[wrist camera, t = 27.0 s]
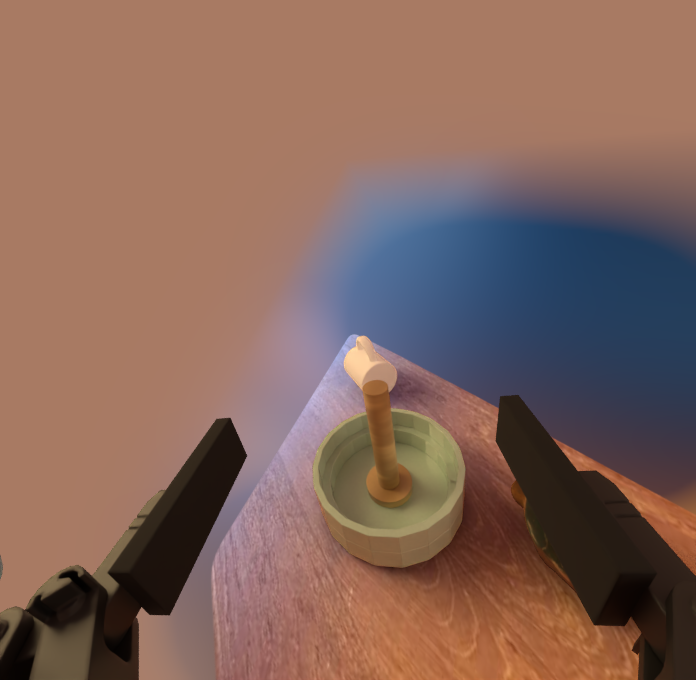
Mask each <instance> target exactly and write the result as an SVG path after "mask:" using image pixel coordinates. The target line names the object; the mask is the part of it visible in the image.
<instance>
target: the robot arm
mask: <svg viewBox="0 0 696 680" xmlns="http://www.w3.org/2000/svg"><path fill="white" fill-rule="evenodd" d="M496 443H497V444H498V446H499V448H500V450H501V452H502V454H503V456H504V458H505V459H506V461H507V463H508V465H509V467H510V469H511V471H512V473H513V474H514V476H515V478H516V480H517V482H518V484H519V486H520V488H521V489H522V491H523V493H524V495H525V497H526V499H527V501H528V503H529V504H530V506H531V508H532V510H533V512H534V514H535V516H536V518H537V519H538V521H539V523H540V525H541V527H542V529H543V531H544V533H545V534H546V536H547V538H548V540H549V542H550V544H551V546H552V548H553V549H554V551H555V553H556V555H557V557H558V559H559V561H560V562H561V564H562V566H563V568H564V570H565V572H566V574H567V576H568V577H569V579H570V581H571V583H572V585H573V587H574V589H575V591H576V592H577V594H578V596H579V598H580V600H581V602H582V604H583V606H584V607H585V609H586V611H587V613H588V615H589V617H590V619H591V621H592V622H593V624H594V625H603V626H625V625H626V623H627V622H628V620H629V618H630V617H632V618H633V620H634V621H635V623H636V625H637V626H638V628H639V629H640V631H641V632H642V633H641V635H640V636H639V638H638V639H637V641H636V642H635V644H634V646H633V649H632V651H633V652H634V653H636V654H637V655H638V653H639V670H638V680H696V576H695V575H694V574H693V573H692V572H691V571H690V569H689V568H688V567H687V566H686V565H685V564H684V563H683V561H682V560H681V559H680V558H679V557H678V556H677V555H676V553H675V552H674V551H673V550H672V549H671V548H670V547H669V546H668V544H667V543H666V542H665V541H664V540H663V539H662V538H661V536H660V535H659V534H658V533H657V532H656V531H655V530H654V528H653V527H652V526H651V525H650V524H649V523H648V522H647V520H646V519H645V518H644V517H642V516H641V514H640V512H639V511H638V510H637V509H636V508H635V507H634V506H633V504H632V503H629V500H628V499H627V498H626V496H625V495H624V494H623V493H622V492H621V491H620V490H619V489H618V487H617V486H616V485H615V484H614V483H612V482H611V481H610V480H608V479H607V478H606V477H604V476H603V475H601V474H600V473H599V472H597V471H577V470H576V468H575V467H574V466H573V464H572V463H571V462H570V461H569V459H568V458H567V457H566V455H565V454H564V453H563V452H562V450H561V449H560V448H559V447H558V445H557V444H556V443H555V441H554V440H553V439H552V438H551V436H550V435H549V434H548V432H547V431H546V430H545V429H544V427H543V426H542V425H541V423H540V422H539V421H538V420H537V418H536V417H535V416H534V415H533V413H532V412H531V411H530V410H529V408H528V407H527V406H526V404H525V403H524V402H523V400H522V399H521V398H520V397H519V395H512V396H501V397H500V403H499V413H498V423H497V433H496ZM246 457H247V454H246V452H245V450H244V448H243V445H242V443H241V441H240V438H239V436H238V434H237V432H236V429H235V427H234V425H233V423H232V420H231V418H222V419H216V421H215V422H214V423H213V425H212V426H211V428H210V429H209V430H208V432H207V433H206V435H205V436H204V437H203V439H202V440H201V442H200V443H199V444H198V446H197V447H196V449H195V450H194V452H193V453H192V454H191V456H190V457H189V459H188V460H187V461H186V463H185V464H184V466H183V467H182V468H181V470H180V471H179V472H178V474H177V476H176V477H175V478H174V480H173V481H172V482H171V484H170V485H169V487H168V488H167V489H166V490H161V491H159V492H158V493H157V494H156V495H155V496H154V497H152V498H151V499H150V500H149V501H148V502H147V503H146V505H145V506H144V507H143V509H142V510H141V511H140V513H139V514H138V515H137V518H136V519H134V521H133V522H132V523H131V525H130V526H129V529H128V530H126V532H125V533H124V534H123V536H122V537H121V538H120V540H119V541H118V542H117V544H116V545H115V546H114V548H113V549H112V550H111V552H110V553H109V554H108V556H107V557H106V559H105V560H104V561H103V562H102V564H101V565H100V566H99V568H98V569H97V570H96V572H95V573H94V574H93V575H92V576H91V575H90V574H89V573H88V572H87V571H86V570H85V569H84V568H83V567H81V566H79V565H75V566H70V567H68V568H66V569H63V570H62V571H60V572H58V573H57V574H55V575H54V576H53V577H51V578H50V579H49V580H48V581H47V582H45V583H44V584H43V585H42V586H41V587H40V588H39V589H38V590H37V592H36V593H35V594H34V596H33V597H32V598H31V599H30V601H29V603H28V605H27V607H26V609H25V610H24V609H22V608H20V607H12V608H9V609H6V610H4V611H3V612H1V613H0V680H139V671H138V669H139V658H138V657H139V624H138V620H137V618H136V616H137V614H138V612H139V610H140V609H141V607H142V608H143V609H144V610H145V611H146V612H147V613H148V614H149V615H170V613H171V612H172V610H173V608H174V606H175V603H176V601H177V599H178V597H179V595H180V593H181V591H182V589H183V587H184V585H185V583H186V581H187V579H188V577H189V574H190V573H191V570H192V568H193V566H194V564H195V562H196V560H197V558H198V556H199V554H200V552H201V550H202V548H203V546H204V544H205V542H206V539H207V537H208V535H209V533H210V531H211V529H212V527H213V525H214V523H215V521H216V519H217V517H218V515H219V513H220V511H221V509H222V507H223V505H224V502H225V500H226V498H227V496H228V494H229V492H230V490H231V488H232V486H233V484H234V482H235V480H236V478H237V476H238V474H239V471H240V469H241V468H242V466H243V463H244V461H245V459H246ZM2 570H3V565H2V560H1V556H0V579H1V575H2Z"/></svg>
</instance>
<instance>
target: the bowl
mask: <svg viewBox="0 0 696 680" xmlns="http://www.w3.org/2000/svg"><path fill="white" fill-rule="evenodd" d="M391 414H392V422H393V430H394V438H395V446H396V454H397V463H399V464H401V465H403V466H404V467H405V468H406V469H407V470H408V471H409V473H410V475H411V477H412V485H413V490H412V494H411V496H410V498H409V499H408V501H407V502H406V503H404V504H403V505H401V506H398V507H395V508H386V507H382V506H380V505H378V504H376V503H375V502H374V501H373V500H372V499H371V497H370V496H369V493H368V490H367V485H366V479H367V475H368V473H369V471H370V470H371V469H372V468H373V467H374V466H375V460H374V454H373V448H372V443H371V437H370V431H369V425H368V419H367V414H366V412H363V413H359V414H357V415H355V416H353V417H351V418H349V419H347V420H345V421H343V422H341V423H340V424H339V425H338V426H337V427H336V428H334V429H333V430H332V431H331V432H330V433H329V434H328V435H327V436H326V438H325V439H324V441H323V442H322V444H321V445H320V446H319V448H318V450H317V453H316V457H315V460H314V463H313V484H314V490H315V493H316V496H317V499H318V502H319V505H320V508H321V511H322V514H323V517H324V519H325V521H326V523H327V526H328V528H329V530H330V532H331V534H332V536H333V537H334V538H335V539H336V540H337V541H338V542H339V543H340V544H341V545H342V546H343V547H344V548H345V549H346V550H347V551H348V552H349V553H350V554H351V555H353V556H356V557H358V558H360V559H362V560H364V561H366V562H368V563H370V564H373V565H375V566H388V567H400V568H402V567H407V566H410V565H413V564H417V563H420V562H423V561H427V560H429V559H431V558H432V557H433V556H435V555H436V554H437V553H438V552H440V551H441V550H442V549H443V548H445V547H446V546H447V545H448V544H450V542H451V541H452V539H453V537H454V535H455V533H456V531H457V530H458V528H459V526H460V524H461V522H462V519H463V510H464V501H465V474H466V468H465V464H464V461H463V457H462V453H461V450H460V447H459V446H458V444H457V443H456V442H455V440H454V439H453V437H452V436H451V435H450V433H449V432H448V431H447V430H446V429H444V428H443V427H442V426H441V425H439V424H438V423H437V422H435V421H434V420H433V419H431V418H428V417H426V416H424V415H421V414H419V413H417V412H413V411H408V410H402V409H397V408H393V409H391Z"/></svg>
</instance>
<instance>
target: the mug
mask: <svg viewBox="0 0 696 680" xmlns="http://www.w3.org/2000/svg"><path fill="white" fill-rule="evenodd" d="M356 345H357V346H356V347H354V348H352V349H351V350H350V351H349V352H348V353H347V355H346V357H345V360H344V368H345V370H346V372H347V373H348V374H349V376H350V377H351V378H352V379H353V380H354V382H355V383H356V384H357V385H358V386H359V387H360V389H361V390H362V388H363V386H364V384H365V383H367V382H369V381H372V380H382V381H384V382H386V383H387V385H388V389H389V392H390V391H391V390H392V389H393V387H394V386H395V383H396V381H397V371H396V369H395V367H394V366H393V365H392V364H391V363H389V362H388V361H387V360H386V359H384V358H383V357H382V356H381V355H379V354H378V353H377V352H376V351H375V350H374V347H373V345H372V343H371V341H370V340H369V339H368V338H367V337H366V336H360V337H358V338H357V340H356ZM362 391H363V390H362Z"/></svg>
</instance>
